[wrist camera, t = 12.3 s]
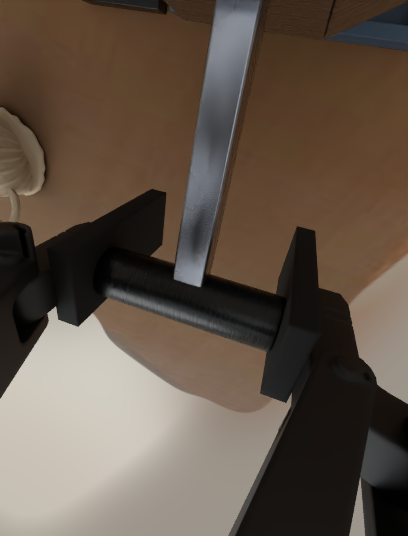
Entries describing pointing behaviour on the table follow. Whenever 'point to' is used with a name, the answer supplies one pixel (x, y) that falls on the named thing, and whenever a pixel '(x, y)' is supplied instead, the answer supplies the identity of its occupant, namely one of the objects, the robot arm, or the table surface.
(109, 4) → the stand
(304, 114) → the table surface
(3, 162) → the decorative ornament
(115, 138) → the table surface
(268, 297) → the grey frying pan
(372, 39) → the tray
